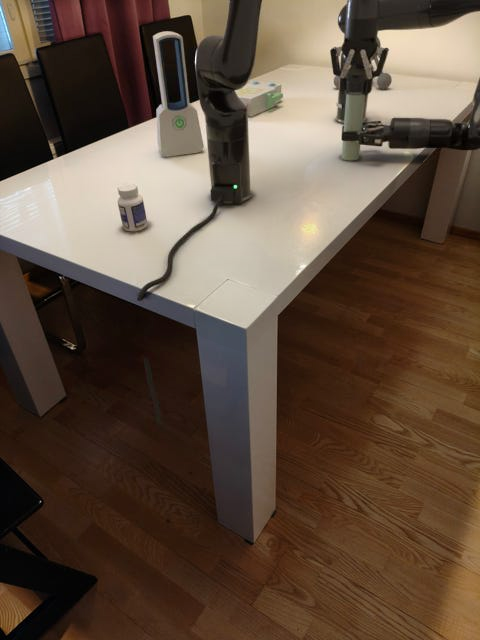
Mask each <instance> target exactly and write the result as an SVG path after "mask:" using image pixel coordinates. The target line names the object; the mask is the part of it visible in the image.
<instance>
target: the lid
mask: <svg viewBox="0 0 480 640" xmlns="http://www.w3.org/2000/svg"><path fill="white" fill-rule="evenodd" d="M365 84H366V79H365V78H349V79H346V85H345V91H347V92H353V93H357V92H364V91H365Z"/></svg>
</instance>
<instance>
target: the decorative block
mask: <svg viewBox="0 0 480 640" xmlns="http://www.w3.org/2000/svg"><path fill="white" fill-rule="evenodd" d="M235 92H236V94H237V96H238V97H239V99H240V100H241V101H242V102H243V103H244V104H245V105H246V107H247V110H248V117H250V118H251V117H252V118H253V117H254V116H256V115H258V114H260V113H263V112H265V111H268V110H270V109H272V108H274V107H276V106H277V104H278V103H280V102H282V99H284V93H282V83H281V84H280V83H275V82H261V81H257V80H254V81H253V82H251V83H247V84H246V85H245V86H244V87H243V88H241V89H239V90H235Z"/></svg>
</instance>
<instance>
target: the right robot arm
mask: <svg viewBox="0 0 480 640" xmlns="http://www.w3.org/2000/svg"><path fill="white" fill-rule="evenodd" d="M346 7H347V3H346V4H345V5H344V6H343V7H342V8H341V9H340V11H339V12H338V17H337V25H338V28H339V30H340V31H341V33H342V34H345V20H346ZM477 12H478V13H479V12H480V0H380V14H379V21H378V31H377V35H378V34H379V32H381V31H412V30H425V29H433V28H440V27H445V26H446V25H447V26H448V25H449V24H451V23H453V22H455V21H457V20H459V19H461V18H462V17H464V16H466V15H470V14H472V13H473V14H474V13H477ZM371 61H373V60H372V57H371ZM345 62H346V57H345V55H344V54H343V52H342V51H341V54H340V63H339V64H340V69H341V70H343V67H344V64H345ZM347 77H348V78H347V79H349V78H365V79H367V74H366V71H365V68H364V65H360V64H354V65H351V67H350V69H349V71H348V73H347ZM364 92H365V91H364ZM346 94H347V91H346ZM346 94H342V92H340V79H339V88H338V93H337V97H338V98H337V102H336V107H337V108H336V118H335V120H336V122H337V123H341V124H343V125H342V126H341V137H340V138H341V141H342V142H343V141H356V142H358V143H359V144H360V146H370V147H379V148H381V147H383V144H384V143H387V144H388V146H387V147H388V148H389V150H390V149H392V150H396V149H399V150H419V149H420V150H421V149H449V150H455V151H456V150H457V151H476V150H479V149H480V76H479V78H478V81H477V84H476V87H475V91H474V93H473V97H472V102H471V103H472V106H473V107H472V109H471V113H470V117H469V120H468V121H467V122H457V121H454V122H453V121H452V120H451V119H447V118H426V117H425V118H424V117H393V118H391V120H390V124H389V125H388V124H384V123H382V121H381V120H373V121H366V120H367V108H368V98H369V95H368V96H365V103H364V113H363V123H362V131H358V132H357V131H344V120H345V107H346Z"/></svg>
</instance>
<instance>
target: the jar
mask: <svg viewBox="0 0 480 640" xmlns="http://www.w3.org/2000/svg"><path fill="white" fill-rule="evenodd" d="M364 103H365V92H357V93H353V92H347V94H346V107H345V120H344V123H343V125H344V131H357V132H358V131H362V123H363V113H364ZM360 151H361V145H360V144H359V143H358V142H356V141H342V147H341V159H342V160H344V161H349V162H350V161H351V162H352V161H357V160H359V159H360Z"/></svg>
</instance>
